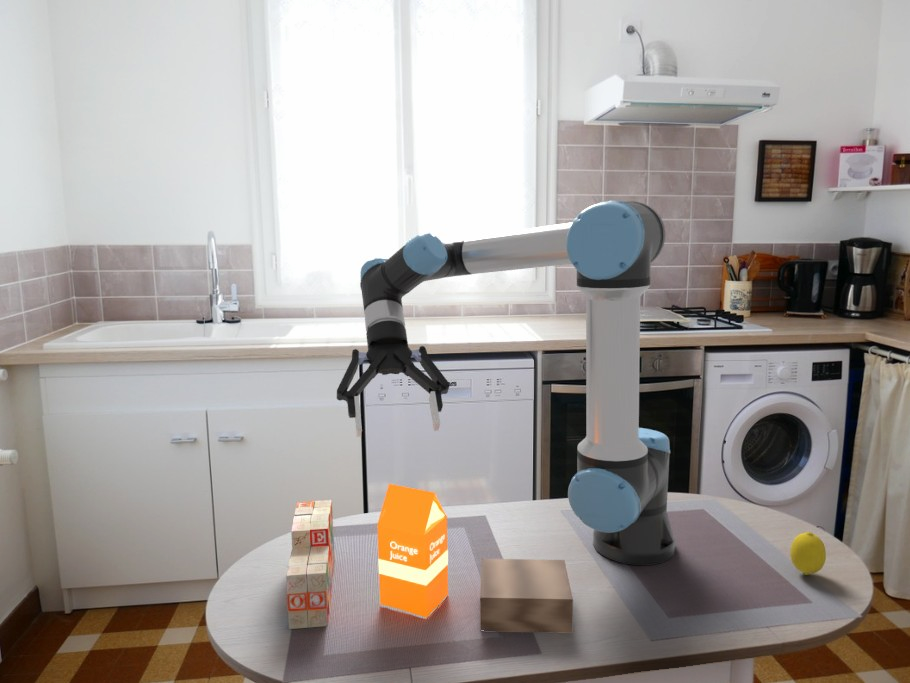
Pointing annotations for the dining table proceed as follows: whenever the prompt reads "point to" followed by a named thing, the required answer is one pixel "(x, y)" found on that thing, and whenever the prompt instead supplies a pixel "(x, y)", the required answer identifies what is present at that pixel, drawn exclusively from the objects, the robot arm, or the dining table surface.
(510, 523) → the dining table surface
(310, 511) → the stack of blocks
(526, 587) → the base brick
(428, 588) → the orange juice
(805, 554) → the lemon
